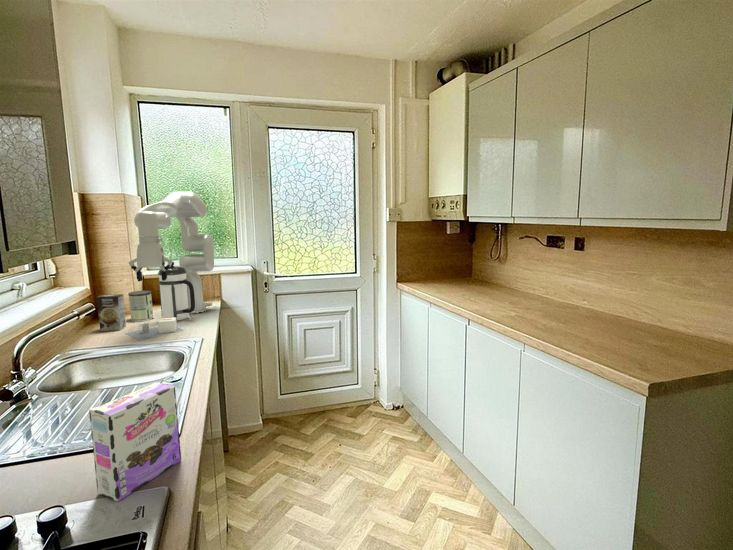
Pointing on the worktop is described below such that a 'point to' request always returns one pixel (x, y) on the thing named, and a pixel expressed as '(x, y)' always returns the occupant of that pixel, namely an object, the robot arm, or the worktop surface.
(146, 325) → the pale grey block
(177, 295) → the coffee press
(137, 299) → the coffee can
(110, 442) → the candy box
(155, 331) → the base plate
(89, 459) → the worktop surface
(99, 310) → the coffee box
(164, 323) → the white striped cube
